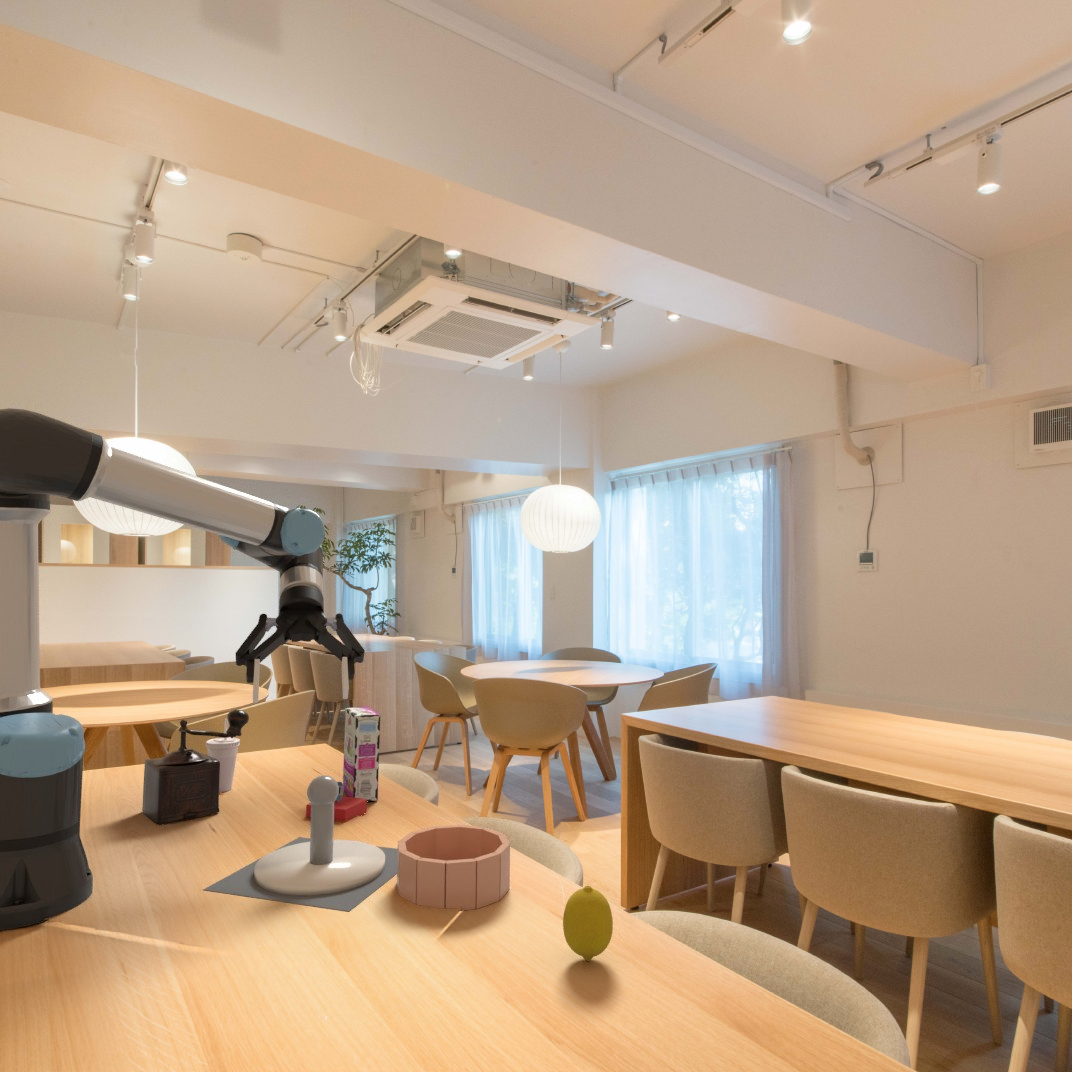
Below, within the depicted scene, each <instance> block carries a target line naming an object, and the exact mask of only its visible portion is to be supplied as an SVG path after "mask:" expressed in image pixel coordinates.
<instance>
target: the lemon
mask: <svg viewBox="0 0 1072 1072" xmlns="http://www.w3.org/2000/svg"><path fill="white" fill-rule="evenodd" d="M613 924H614V922H613V913H612V909H611V906H610V903H609V901H608V899H607V897H606V896H605V895H604V894H602V893H601V892H600V891H598V889H595V888H592V886H591V885H585V886H584V887H583V888H580V889H577V890H576V891H574V892H573V893H572V894H571V895H570V896H569V898H568V899H567V902H566V904H565V907H564V910H563V917H562V929H563V935H564V938H565V941H566V943H567V945H568V946H569V949H571V951H573V953H575V954H577V955H578V956H580V957H582V958H583V960H584V961H586V962H589V961H591V960H592V959H593V958H594V957H597V956H599V955H601V954H602V953H604V951H605V950H606V949H607V948H608V946H609V944H610V943H611V939H612V936H613V929H614V928H613Z"/></svg>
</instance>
